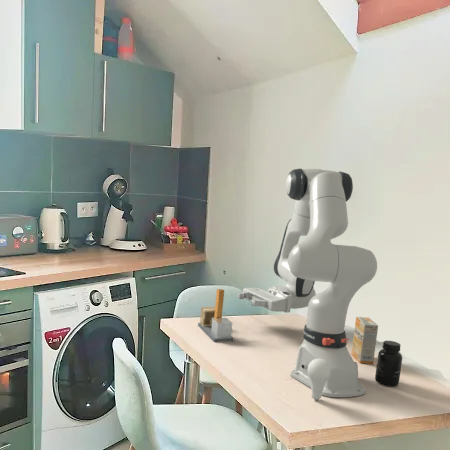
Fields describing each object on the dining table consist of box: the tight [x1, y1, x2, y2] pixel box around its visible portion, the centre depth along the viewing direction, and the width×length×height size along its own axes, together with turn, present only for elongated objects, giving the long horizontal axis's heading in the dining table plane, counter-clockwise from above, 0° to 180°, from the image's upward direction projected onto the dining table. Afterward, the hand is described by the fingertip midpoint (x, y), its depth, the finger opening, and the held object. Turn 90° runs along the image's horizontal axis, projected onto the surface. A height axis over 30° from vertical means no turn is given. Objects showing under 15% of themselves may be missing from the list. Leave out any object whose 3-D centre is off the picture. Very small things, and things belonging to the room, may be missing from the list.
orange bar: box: [210, 288, 225, 326], centre depth 181 cm, size 10×4×14 cm, turn 21°
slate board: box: [197, 322, 235, 343], centre depth 185 cm, size 18×7×1 cm, turn 21°
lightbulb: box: [307, 358, 331, 401], centre depth 137 cm, size 6×6×11 cm
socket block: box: [199, 306, 215, 326], centre depth 190 cm, size 4×6×6 cm, turn 111°
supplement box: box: [351, 316, 379, 365], centre depth 171 cm, size 8×5×13 cm, turn 6°
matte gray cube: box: [211, 317, 233, 339], centre depth 179 cm, size 6×5×5 cm
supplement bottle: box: [374, 340, 403, 388], centre depth 153 cm, size 7×7×12 cm
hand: (245, 299), depth 188 cm, fingers open, 8 cm apart
